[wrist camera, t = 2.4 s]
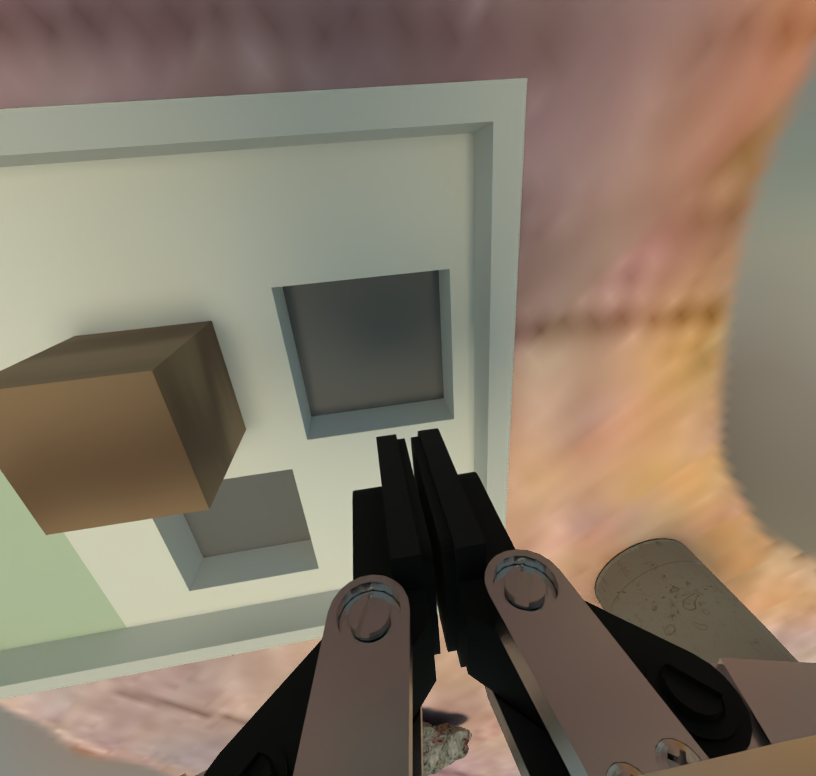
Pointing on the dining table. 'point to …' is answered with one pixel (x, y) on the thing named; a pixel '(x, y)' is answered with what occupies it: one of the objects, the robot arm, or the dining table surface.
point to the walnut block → (119, 426)
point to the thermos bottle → (683, 604)
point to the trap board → (258, 341)
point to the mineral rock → (443, 746)
